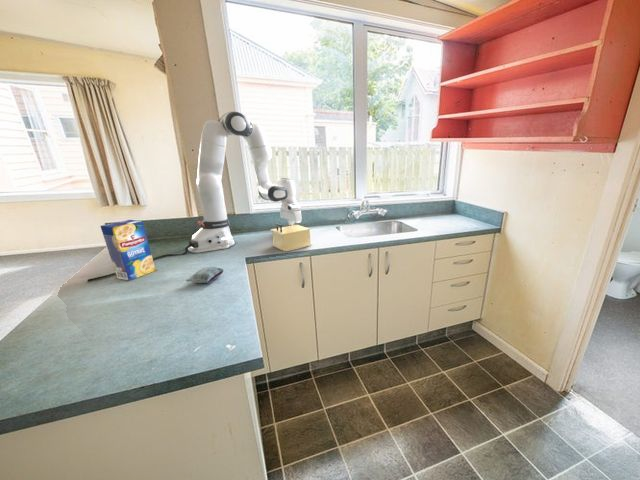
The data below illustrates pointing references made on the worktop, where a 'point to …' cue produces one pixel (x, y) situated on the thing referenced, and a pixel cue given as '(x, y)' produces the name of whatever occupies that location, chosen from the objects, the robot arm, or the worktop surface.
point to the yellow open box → (291, 240)
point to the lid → (288, 229)
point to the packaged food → (206, 275)
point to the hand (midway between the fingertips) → (291, 227)
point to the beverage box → (128, 249)
